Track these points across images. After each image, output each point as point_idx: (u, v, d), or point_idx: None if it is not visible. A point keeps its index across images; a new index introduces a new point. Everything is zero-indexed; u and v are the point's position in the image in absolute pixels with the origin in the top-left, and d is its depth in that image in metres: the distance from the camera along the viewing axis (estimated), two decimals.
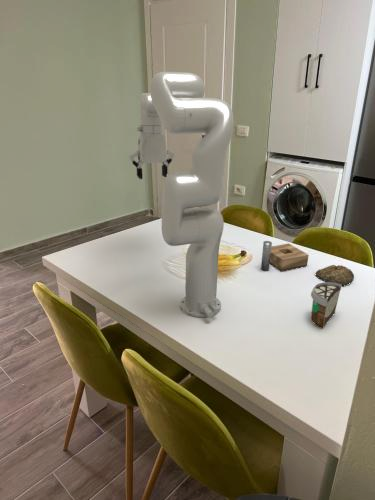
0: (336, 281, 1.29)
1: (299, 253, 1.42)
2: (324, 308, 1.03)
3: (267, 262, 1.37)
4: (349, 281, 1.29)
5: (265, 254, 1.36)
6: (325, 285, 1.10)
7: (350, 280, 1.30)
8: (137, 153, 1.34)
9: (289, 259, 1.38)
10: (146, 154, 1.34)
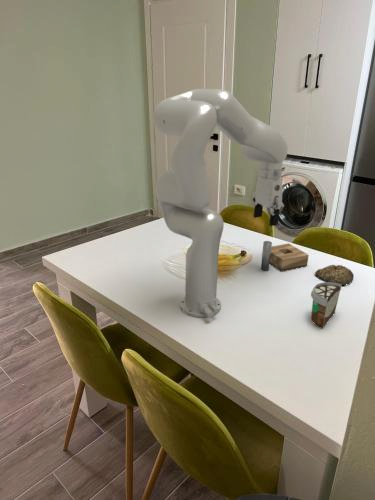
0: (336, 281, 1.29)
1: (299, 253, 1.42)
2: (324, 308, 1.03)
3: (267, 262, 1.37)
4: (349, 281, 1.29)
5: (265, 254, 1.36)
6: (325, 285, 1.10)
7: (350, 280, 1.30)
8: None
9: (289, 259, 1.38)
10: None
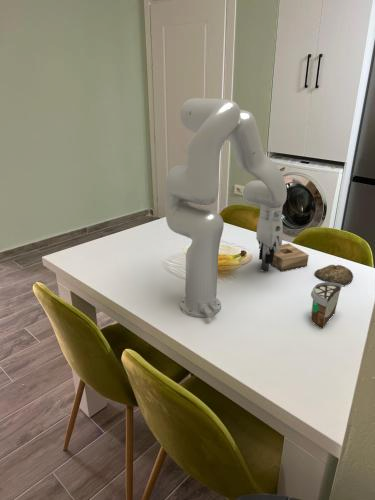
0: (335, 281, 1.29)
1: (299, 253, 1.42)
2: (324, 308, 1.03)
3: None
4: (348, 281, 1.30)
5: (265, 254, 1.36)
6: (325, 285, 1.10)
7: (349, 280, 1.30)
8: None
9: (289, 259, 1.38)
10: None
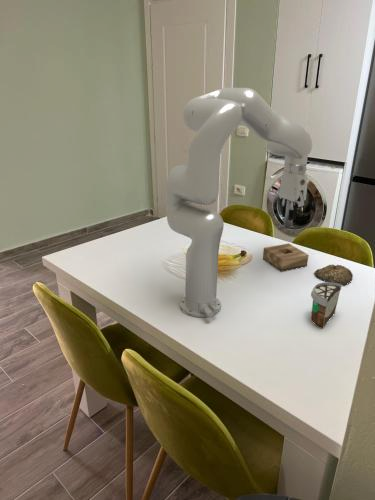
0: (335, 281, 1.29)
1: (299, 253, 1.42)
2: (324, 308, 1.03)
3: None
4: (348, 281, 1.30)
5: (288, 210, 1.35)
6: (325, 285, 1.10)
7: (349, 280, 1.30)
8: None
9: (289, 259, 1.38)
10: None
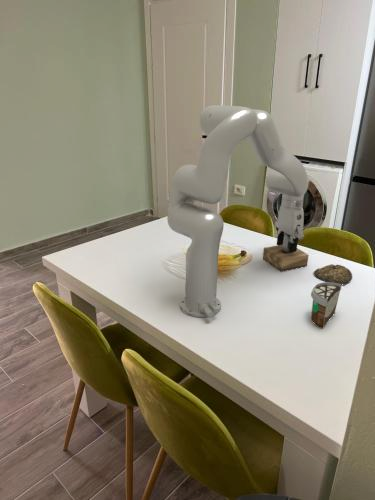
0: (334, 280, 1.30)
1: (299, 253, 1.42)
2: (324, 308, 1.03)
3: (287, 253, 1.42)
4: (347, 280, 1.30)
5: (285, 246, 1.41)
6: (325, 285, 1.10)
7: (348, 279, 1.30)
8: None
9: (289, 259, 1.38)
10: None
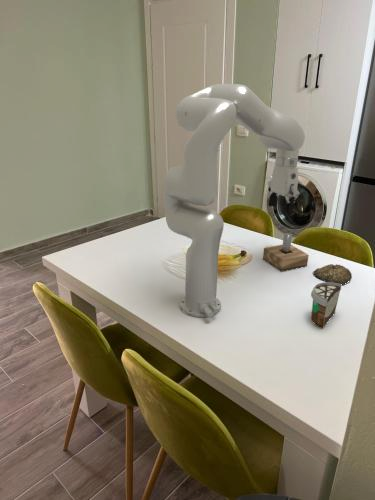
0: (334, 280, 1.30)
1: (299, 253, 1.42)
2: (324, 308, 1.03)
3: (287, 253, 1.42)
4: (347, 280, 1.30)
5: (285, 245, 1.41)
6: (325, 285, 1.10)
7: (348, 279, 1.30)
8: None
9: (289, 259, 1.38)
10: None
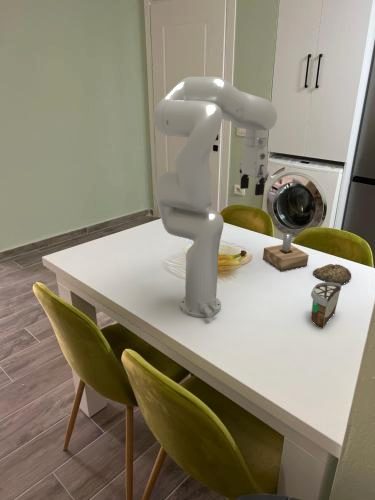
0: (333, 280, 1.30)
1: (299, 253, 1.42)
2: (324, 308, 1.03)
3: (287, 253, 1.42)
4: (346, 280, 1.30)
5: (285, 245, 1.41)
6: (325, 285, 1.10)
7: (347, 279, 1.31)
8: None
9: (289, 259, 1.38)
10: None
